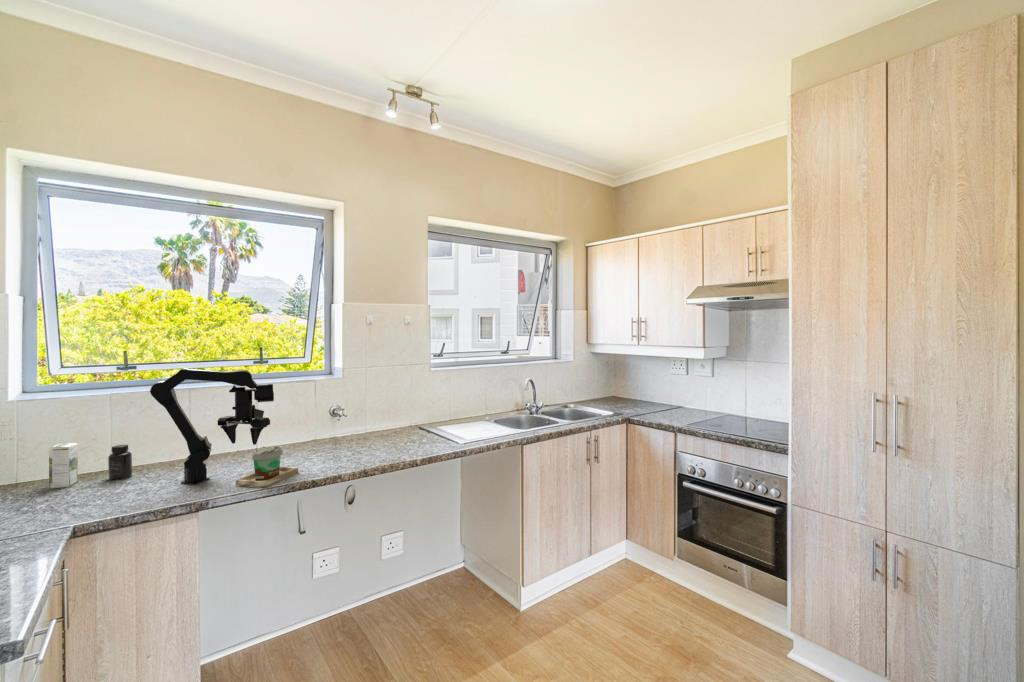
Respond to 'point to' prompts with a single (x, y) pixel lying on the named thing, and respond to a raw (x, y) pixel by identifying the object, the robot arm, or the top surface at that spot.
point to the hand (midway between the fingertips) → (244, 444)
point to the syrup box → (63, 465)
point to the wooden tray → (251, 481)
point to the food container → (267, 464)
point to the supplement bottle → (120, 463)
